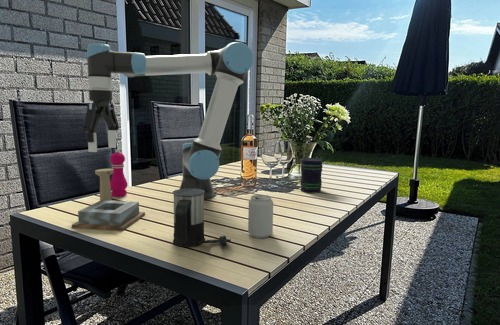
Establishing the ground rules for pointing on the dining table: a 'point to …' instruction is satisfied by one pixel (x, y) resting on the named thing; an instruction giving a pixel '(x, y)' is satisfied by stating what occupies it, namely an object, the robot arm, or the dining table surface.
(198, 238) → the milk frother
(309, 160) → the storage jar
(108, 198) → the handle
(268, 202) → the can
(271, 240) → the dining table surface
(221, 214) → the dining table surface
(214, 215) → the dining table surface
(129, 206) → the frame
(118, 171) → the pepper mill
